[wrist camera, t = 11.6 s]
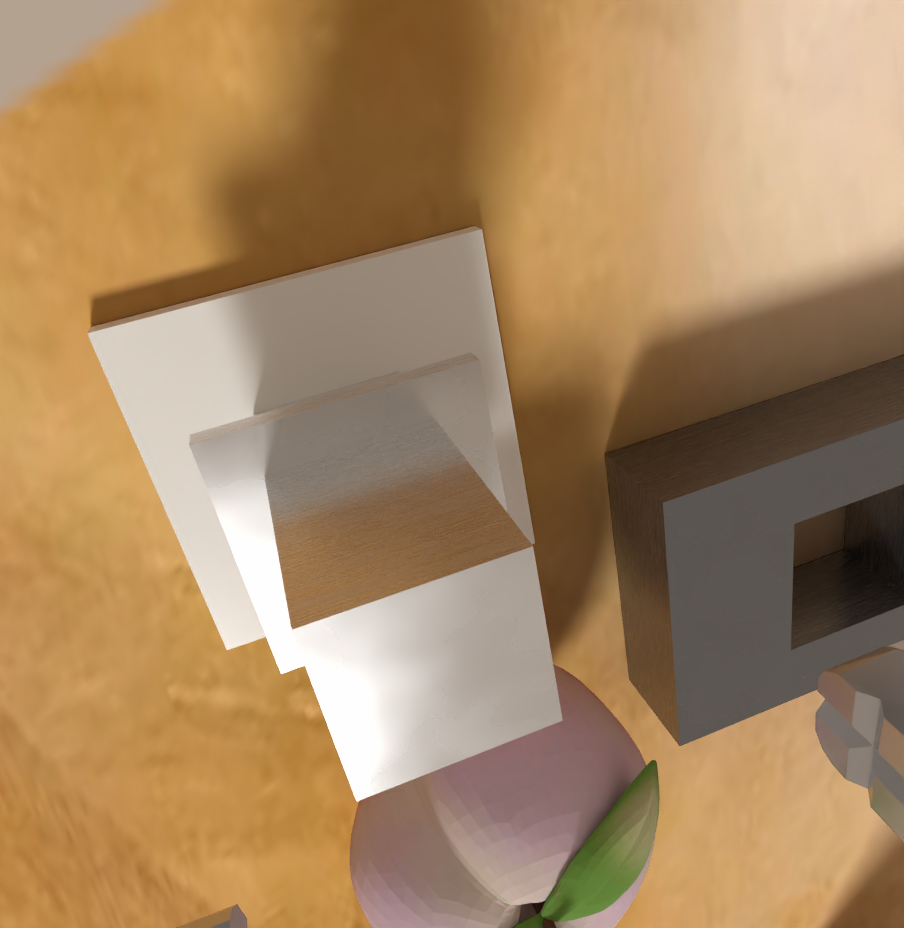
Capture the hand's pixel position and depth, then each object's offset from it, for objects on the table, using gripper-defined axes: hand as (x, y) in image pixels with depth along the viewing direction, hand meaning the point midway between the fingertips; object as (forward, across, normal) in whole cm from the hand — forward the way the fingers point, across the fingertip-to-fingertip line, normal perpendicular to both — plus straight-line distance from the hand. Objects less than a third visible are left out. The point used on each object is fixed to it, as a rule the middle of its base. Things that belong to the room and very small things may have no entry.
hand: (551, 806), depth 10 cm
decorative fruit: (+13, 0, +12) cm, 18 cm away
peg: (+13, +1, +1) cm, 13 cm away
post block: (+13, -15, +9) cm, 22 cm away
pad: (+13, +1, +1) cm, 13 cm away
